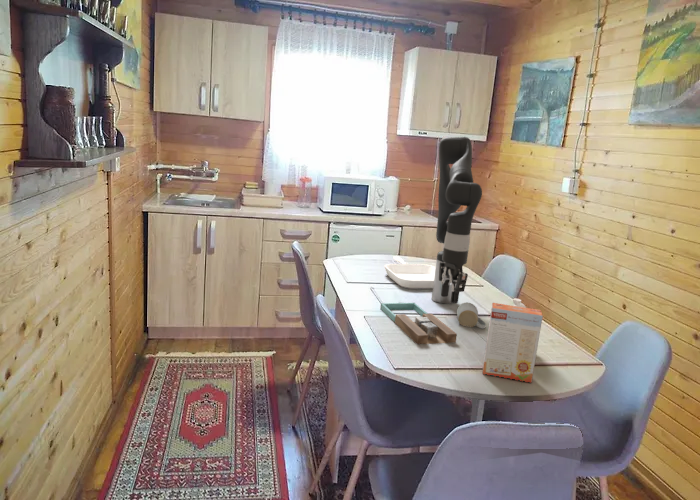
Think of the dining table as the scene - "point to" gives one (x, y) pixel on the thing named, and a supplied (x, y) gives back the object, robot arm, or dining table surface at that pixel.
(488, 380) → the dining table surface
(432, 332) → the metal block
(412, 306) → the teal tray
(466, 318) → the ceramic mug
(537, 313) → the cracker box
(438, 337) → the walnut slot board
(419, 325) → the metal block
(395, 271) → the pan
